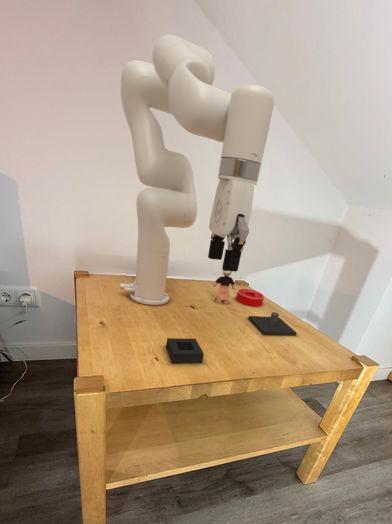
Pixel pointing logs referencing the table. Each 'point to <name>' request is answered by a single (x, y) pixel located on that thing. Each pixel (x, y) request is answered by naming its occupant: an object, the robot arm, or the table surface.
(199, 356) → the top pad
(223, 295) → the grandmother figurine
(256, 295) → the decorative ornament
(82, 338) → the table surface
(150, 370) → the table surface
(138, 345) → the table surface
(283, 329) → the base pad
